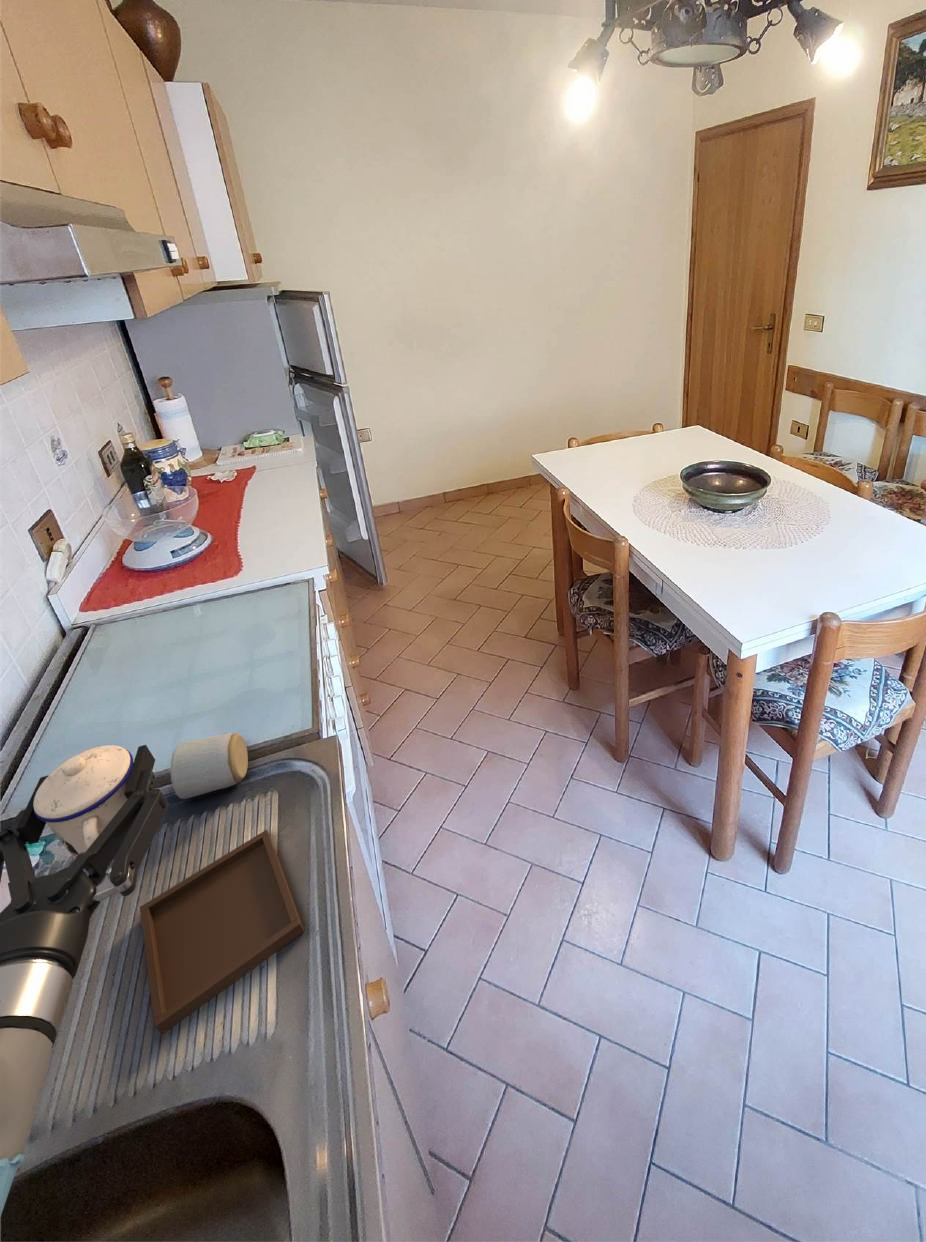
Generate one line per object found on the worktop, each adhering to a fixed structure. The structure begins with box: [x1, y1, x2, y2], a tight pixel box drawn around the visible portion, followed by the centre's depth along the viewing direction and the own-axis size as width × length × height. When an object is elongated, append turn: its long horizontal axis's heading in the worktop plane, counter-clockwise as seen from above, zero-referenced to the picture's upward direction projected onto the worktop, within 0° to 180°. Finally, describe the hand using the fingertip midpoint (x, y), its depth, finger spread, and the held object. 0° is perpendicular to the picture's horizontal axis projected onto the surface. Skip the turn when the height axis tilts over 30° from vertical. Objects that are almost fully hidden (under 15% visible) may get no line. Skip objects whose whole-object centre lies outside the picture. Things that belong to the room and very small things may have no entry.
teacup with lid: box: [33, 744, 134, 861], centre depth 64 cm, size 12×9×12 cm
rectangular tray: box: [139, 829, 305, 1035], centre depth 68 cm, size 15×15×2 cm
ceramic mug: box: [169, 732, 249, 800], centre depth 85 cm, size 11×8×8 cm
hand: (99, 768), depth 67 cm, fingers closed on teacup with lid, 9 cm apart
